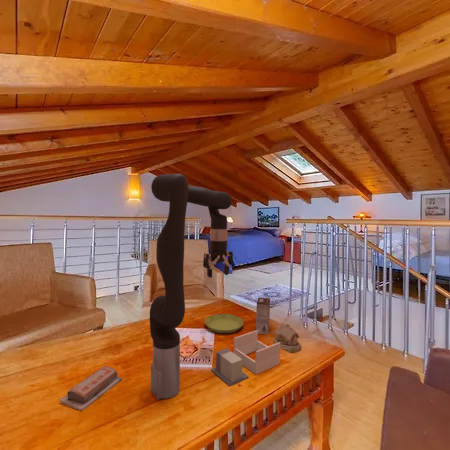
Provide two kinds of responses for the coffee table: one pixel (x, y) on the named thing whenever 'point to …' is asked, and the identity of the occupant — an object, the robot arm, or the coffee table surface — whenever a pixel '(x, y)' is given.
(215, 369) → the mat
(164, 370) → the robot arm
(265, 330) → the coffee box
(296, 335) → the ceramic model
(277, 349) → the carton
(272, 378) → the coffee table surface
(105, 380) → the packaged product
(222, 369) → the box
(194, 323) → the coffee table surface
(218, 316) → the saucer
